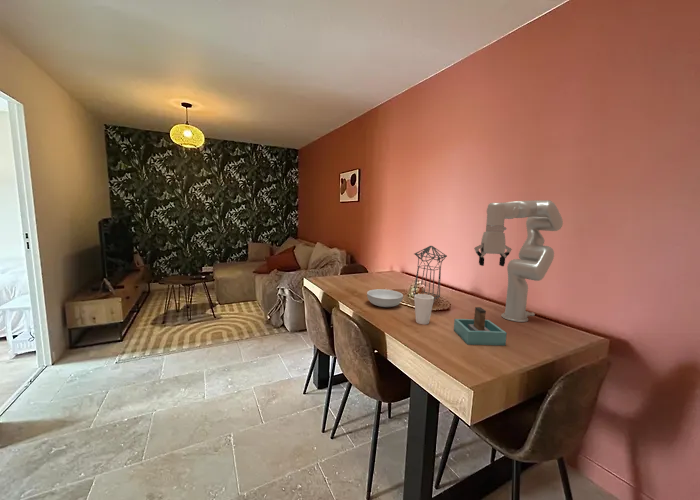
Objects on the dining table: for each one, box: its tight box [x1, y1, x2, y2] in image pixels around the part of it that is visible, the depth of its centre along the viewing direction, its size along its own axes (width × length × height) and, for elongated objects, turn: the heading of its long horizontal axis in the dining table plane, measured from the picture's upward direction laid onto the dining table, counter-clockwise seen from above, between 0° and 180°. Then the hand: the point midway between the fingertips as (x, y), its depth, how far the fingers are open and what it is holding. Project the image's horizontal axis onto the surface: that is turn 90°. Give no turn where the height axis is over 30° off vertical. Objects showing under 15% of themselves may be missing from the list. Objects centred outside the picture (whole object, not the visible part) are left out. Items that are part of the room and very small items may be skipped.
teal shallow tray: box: [453, 318, 508, 346], centre depth 138 cm, size 16×16×6 cm
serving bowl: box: [366, 288, 404, 308], centre depth 182 cm, size 21×21×7 cm
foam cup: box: [413, 293, 435, 325], centre depth 155 cm, size 10×9×13 cm
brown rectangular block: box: [474, 306, 487, 330], centre depth 137 cm, size 2×5×12 cm, turn 2°
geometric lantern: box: [412, 245, 448, 301], centre depth 189 cm, size 16×16×35 cm
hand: (491, 265), depth 149 cm, fingers open, 9 cm apart
